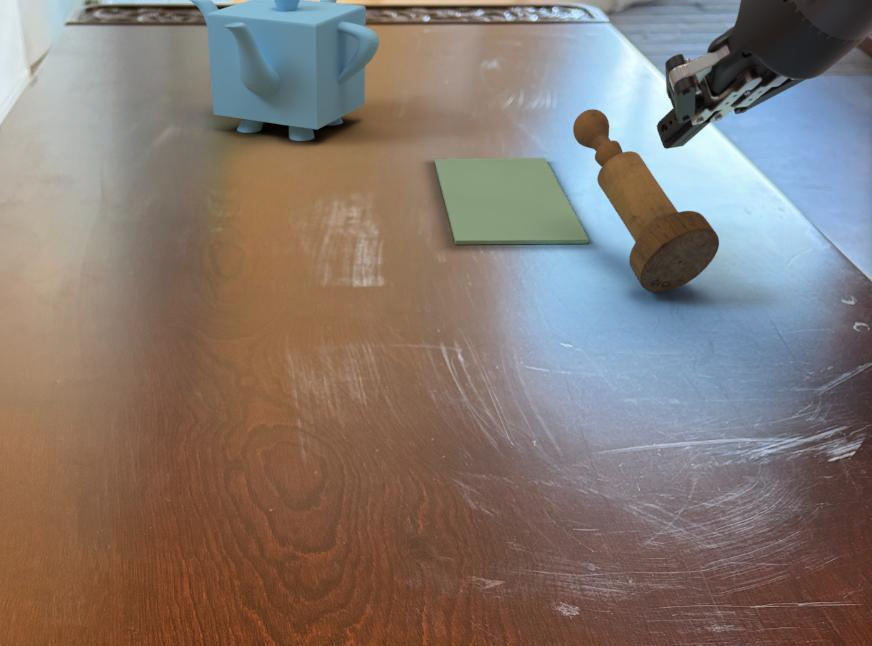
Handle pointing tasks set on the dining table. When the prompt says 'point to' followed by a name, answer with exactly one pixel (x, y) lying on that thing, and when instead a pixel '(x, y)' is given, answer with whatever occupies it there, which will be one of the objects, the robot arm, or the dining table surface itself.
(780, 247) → the dining table surface
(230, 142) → the dining table surface
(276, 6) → the teakettle
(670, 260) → the mortar and pestle
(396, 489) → the dining table surface
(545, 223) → the mat
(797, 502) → the dining table surface
